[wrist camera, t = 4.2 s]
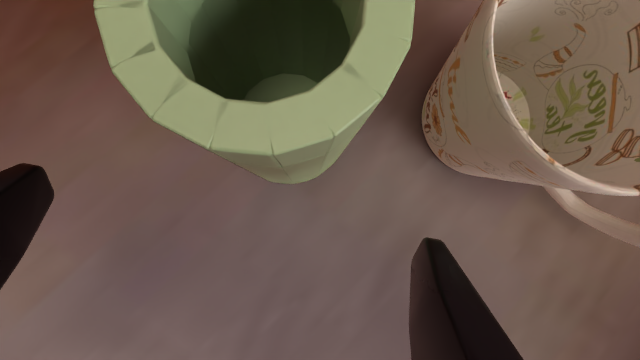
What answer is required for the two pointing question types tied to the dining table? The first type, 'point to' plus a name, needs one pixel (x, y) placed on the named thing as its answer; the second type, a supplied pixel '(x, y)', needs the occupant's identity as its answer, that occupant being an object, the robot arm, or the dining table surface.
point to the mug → (545, 102)
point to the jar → (259, 73)
